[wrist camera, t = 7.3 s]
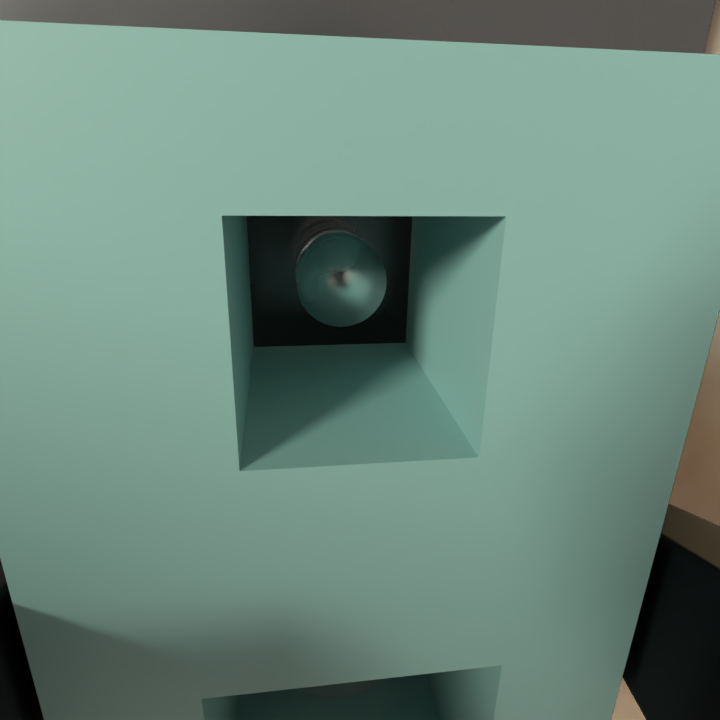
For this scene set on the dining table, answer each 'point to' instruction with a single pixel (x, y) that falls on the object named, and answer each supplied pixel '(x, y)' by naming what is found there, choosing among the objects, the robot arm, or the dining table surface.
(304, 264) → the post base
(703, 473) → the dining table surface
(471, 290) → the teal hollow block
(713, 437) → the dining table surface
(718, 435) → the dining table surface
